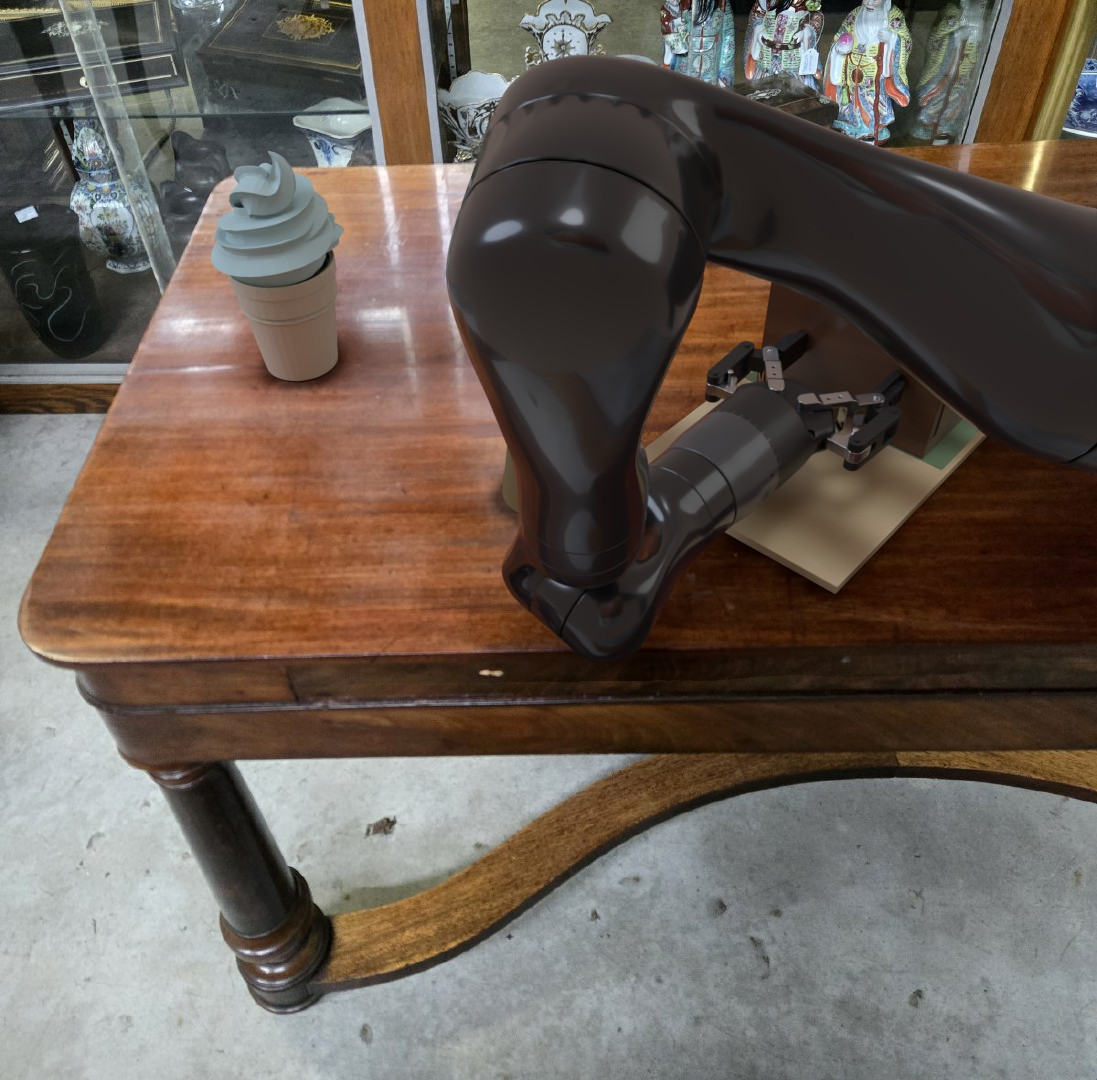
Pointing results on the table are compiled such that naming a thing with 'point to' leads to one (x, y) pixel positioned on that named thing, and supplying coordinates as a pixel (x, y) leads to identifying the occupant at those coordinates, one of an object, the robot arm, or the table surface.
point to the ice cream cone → (282, 267)
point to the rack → (852, 367)
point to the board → (839, 502)
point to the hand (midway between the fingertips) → (849, 360)
